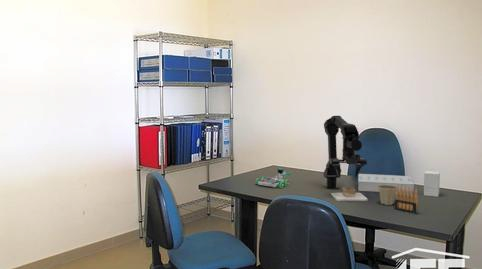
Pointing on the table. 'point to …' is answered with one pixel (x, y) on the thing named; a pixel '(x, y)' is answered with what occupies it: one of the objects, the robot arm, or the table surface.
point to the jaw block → (348, 191)
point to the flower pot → (387, 194)
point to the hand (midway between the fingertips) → (347, 177)
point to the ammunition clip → (406, 200)
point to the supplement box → (431, 183)
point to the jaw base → (342, 198)
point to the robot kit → (274, 180)
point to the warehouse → (383, 182)
